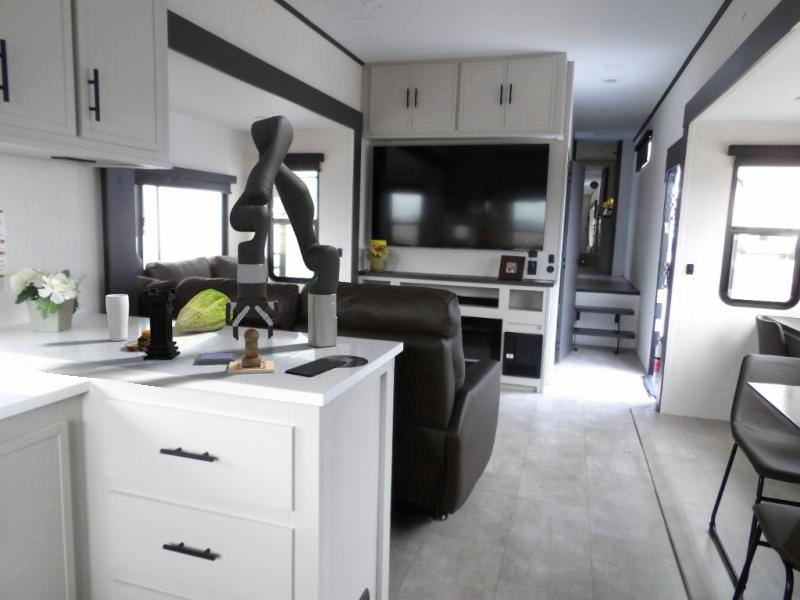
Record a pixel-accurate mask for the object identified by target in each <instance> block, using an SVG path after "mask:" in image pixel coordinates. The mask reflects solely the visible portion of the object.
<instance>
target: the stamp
mask: <svg viewBox="0 0 800 600" xmlns="http://www.w3.org/2000/svg"><path fill="white" fill-rule="evenodd" d="M243 338H244V348H245V350H244V351H245V352H244V355H242V356H241V362H242V368H260V367H261V361H262V354H259V338H260V334H259V331H258V330H257V329H256V328H253V327H252V328H251V327H250V328H247V329H246V331H244V334H243Z"/></svg>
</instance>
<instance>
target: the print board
mask: <svg viewBox="0 0 800 600" xmlns="http://www.w3.org/2000/svg"><path fill="white" fill-rule="evenodd" d="M274 372H275V360H261V367H260V368H242V361H235V362H230V364H228V369H227V375H232V374H233V375H236V374H238V375H239V374H261V373H262V374H265V373H266V374H267V373H274Z"/></svg>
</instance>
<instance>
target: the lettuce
mask: <svg viewBox="0 0 800 600" xmlns="http://www.w3.org/2000/svg"><path fill="white" fill-rule="evenodd" d="M227 302H232V301H231V299H230V298H229V297H228V296H227V295H225V294H224V293H223V292H221V291H218V290H216V289H213V288H209V289H206V290H203V291H200V292H199V293H198V294H196V295H195V296H193V297H192V298H191V299H189V300H188V301H187V303H186V304H185V305H184V306H183V307H182V308H181V309H180V310H179V313H178V315H177V318H176V320H175V323H174V328H175V330H176V331H177V332H179V333H188V332H195V333H196V332H197V333H198V332H199V333H200V332H201V333H203V332H212V331H217V330H220V329H221V328H223V327H225V326H226V325H227V324H226V323H225V317H226V303H227ZM233 310H234V309H233ZM233 310H231V320H233V317H234V316H233V315H234V314H233V313H234V311H233Z"/></svg>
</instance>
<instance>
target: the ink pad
mask: <svg viewBox="0 0 800 600" xmlns="http://www.w3.org/2000/svg"><path fill="white" fill-rule="evenodd" d="M236 355H237V354H236V352H229V353H228V352H227V353H226V352H224V353H221V352H220V353H200V354H199V356H198V358H197V359H196V365H197V366H198V365H201V366H202V365H205V366H206V365H229V364H230V362H236V357H237V356H236Z"/></svg>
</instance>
